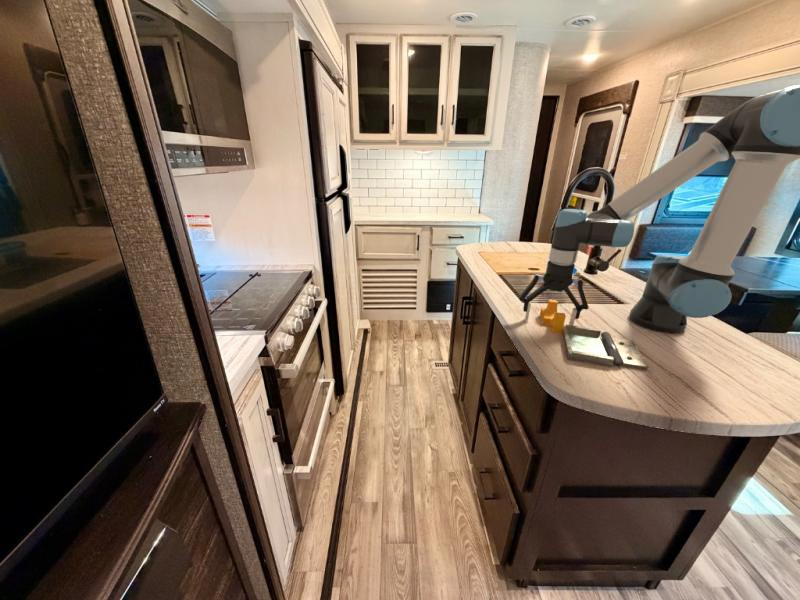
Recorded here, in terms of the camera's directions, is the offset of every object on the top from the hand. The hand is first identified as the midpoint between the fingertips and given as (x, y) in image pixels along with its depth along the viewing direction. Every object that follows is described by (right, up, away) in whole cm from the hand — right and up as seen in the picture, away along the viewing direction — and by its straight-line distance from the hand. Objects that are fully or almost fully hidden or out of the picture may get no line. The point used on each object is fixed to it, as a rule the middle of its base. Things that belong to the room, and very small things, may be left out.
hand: (547, 323), depth 106 cm
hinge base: (+9, -7, -15) cm, 19 cm away
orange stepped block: (+1, -1, 0) cm, 1 cm away
